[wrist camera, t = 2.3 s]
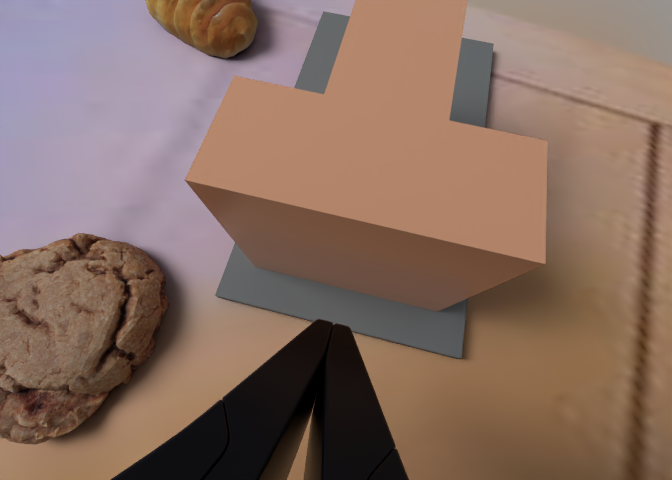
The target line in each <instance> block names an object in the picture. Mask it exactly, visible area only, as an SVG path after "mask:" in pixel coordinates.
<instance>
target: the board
mask: <svg viewBox="0 0 672 480" xmlns="http://www.w3.org/2000/svg"><path fill="white" fill-rule="evenodd" d="M349 19H350V16H345V15H339V14H334V13H329V12H323V14H322V17H321V19H320V22H319V25H318V27H317V30H316V32H315V35H314V38H313V40H312V43H311V46H310V48H309V51H308V53H307V56H306V59H305V61H304V64H303V66H302V69H301V72H300V74H299V77H298V80H297V82H296V85H295V87H294V88H296V89H301V90H305V91H310V92H315V93H320V94H324V93H325V90H326V87H327V84H328V81H329V78H330V75H331V72H332V69H333V66H334V63H335V60H336V57H337V54H338V51H339V48H340V45H341V42H342V39H343V37H344V34H345V31H346V28H347V25H348V22H349ZM492 54H493V44H492V43H486V42H481V41H476V40H471V39H465V38H462V40H461V46H460V53H459V60H458V66H457V73H456V79H455V86H454V92H453V99H452V106H451V112H450V119H449V120H450V121H454V122H459V123H464V124H469V125H474V126H478V127H483V128H485V123H486V113H487V103H488V93H489V83H490V74H491V64H492ZM215 296H217V297H219V298H223V299H227V300H230V301H234V302H238V303H242V304H246V305H250V306H254V307H258V308H262V309H265V310H269V311H273V312H277V313H281V314H285V315H289V316H293V317H297V318H300V319H304V320H308V321H312V322H314V321H316V320H317V319H322V320H326V321H330V322H332V323H333V325H334V324H335V323H338V324H342V325H346V326H349V327H350V328H351V331H352V332H355V333H359V334H363V335H367V336H371V337H374V338H378V339H382V340H386V341H390V342H394V343H398V344H402V345H406V346H409V347H413V348H417V349H421V350H425V351H429V352H433V353H437V354H441V355H444V356H448V357H452V358H456V359H461V358H462V348H463V338H464V328H465V318H466V309H467V299H468V298H467V299H465V300H463V301H460V302H458V303H456V304H454V305H451V306H449V307H447V308H444V309H442V310H440V311H438V312H436V311H432V310H427V309H423V308H419V307H415V306H411V305H407V304H403V303H399V302H395V301H391V300H387V299H383V298H379V297H375V296H371V295H367V294H363V293H359V292H355V291H351V290H347V289H343V288H339V287H335V286H331V285H327V284H323V283H319V282H315V281H311V280H307V279H303V278H299V277H295V276H291V275H287V274H283V273H279V272H274V271H270V270H266V269H262V268H258V267H255V266H254V265H253V264H252V263H251V261H250V260H249V259H248V258H247V256H246V255H245V254H244V253H243V251H242V250H241V249H240V248H239V246H238V245H237V244H236V243H235V245H234V247H233V250H232V253H231V255H230V258H229V261H228V263H227V266H226V268H225V271H224V274H223V276H222V279H221V281H220V284H219V287H218V289H217V292H216V295H215Z"/></svg>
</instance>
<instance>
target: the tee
mask: <svg viewBox="0 0 672 480" xmlns="http://www.w3.org/2000/svg"><path fill="white" fill-rule="evenodd" d="M466 7H467V0H356V1H355V4H354V7H353V10H352V13H351V16H350V19H349V22H348V25H347V28H346V31H345V34H344V37H343V39H342V42H341V45H340V48H339V51H338V54H337V57H336V60H335V63H334V66H333V69H332V72H331V75H330V78H329V81H328V84H327V87H326V90H325V93H324V94H320V93H315V92H310V91H305V90H301V89H296V88H291V87H286V86H281V85H277V84H272V83H267V82H262V81H257V80H252V79H248V78H243V77H238V76H234V78H233V80H232V82H231V84H230V86H229V88H228V90H227V92H226V94H225V97H224V99H223V101H222V103H221V105H220V107H219V109H218V111H217V113H216V115H215V118H214V120H213V122H212V124H211V126H210V128H209V130H208V132H207V134H206V136H205V139H204V141H203V143H202V145H201V147H200V149H199V151H198V153H197V155H196V157H195V160H194V162H193V164H192V166H191V168H190V170H189V172H188V174H187V176H186V179H185V181H186V182H187V183H188V185H189V186H190V187H191V188H192V190H193V191H194V192H195V193H196V195H197V196H198V197H199V198H200V199H201V201H202V202H203V203H204V204H205V206H206V207H207V208H208V209H209V211H210V212H211V213H212V214H213V216H214V217H215V218H216V219H217V221H218V222H219V223H220V224H221V225H222V227H223V228H224V229H225V230H226V232H227V233H228V234H229V235H230V237H231V238H232V239H233V240H234V242H235V243H236V244H237V245H238V246H239V248H240V249H241V250H242V251H243V253H244V254H245V255H246V256H247V258H248V259H249V260H250V261H251V263H252V264H253V265H254V266H255V267H258V268H262V269H266V270H270V271H274V272H279V273H283V274H287V275H291V276H295V277H299V278H303V279H307V280H311V281H315V282H319V283H323V284H327V285H331V286H335V287H339V288H343V289H347V290H351V291H355V292H359V293H363V294H367V295H371V296H375V297H379V298H383V299H387V300H391V301H395V302H399V303H403V304H407V305H411V306H415V307H419V308H423V309H427V310H432V311H436V312H438V311H440V310H442V309H444V308H447V307H449V306H451V305H454V304H456V303H458V302H460V301H463V300H465V299H467V298H469V297H472V296H474V295H476V294H479V293H481V292H483V291H485V290H488V289H490V288H492V287H495V286H497V285H499V284H501V283H504V282H506V281H508V280H510V279H513V278H515V277H517V276H520V275H522V274H524V273H526V272H529V271H531V270H533V269H536V268H538V267H540V266H542V265H545V264H546V206H547V147H548V141H546V140H541V139H536V138H531V137H527V136H522V135H517V134H512V133H507V132H503V131H498V130H493V129H488V128H483V127H478V126H474V125H469V124H464V123H459V122H454V121H450V120H449V119H450V112H451V106H452V99H453V92H454V86H455V79H456V73H457V66H458V60H459V53H460V46H461V40H462V33H463V27H464V20H465V14H466Z"/></svg>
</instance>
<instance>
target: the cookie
mask: <svg viewBox="0 0 672 480" xmlns="http://www.w3.org/2000/svg"><path fill="white" fill-rule="evenodd" d="M165 283H166V282H165V277H164V275H163V273H161V269H160V267H159V266H158V265H157V264H156V263H155V262H154V261H153V260H152V259H150V258H149V257H148V256H147V255H146V254H145V253H144V252H143V250H141V249H139V248H137V247H135V246H133V245H130V244H128V243H126V242H118V241H111V240H107V239H105V238H102V237H97V236H94V235H90V234H83V233H78V234H76V235H74V236H72V237H71V238H69V239H61V240H58V241H55V242H53V243H51V244H49V245H48V246H45V247H42V248H38V249H33V250H31V249H22V250H18V251H16V252H13V253H12V254H10V255H8V256H4V257H2V256H1V255H0V438H6V439H7V440H9V441H11V442H16V443H24V444H39V443H42V442H45V441H47V440H49V439H50V438H52V437H53V438H54V437H60V436H62V435H65V434H67V433H69V432H70V431H72V430H74V429H76V428H77V427H78V426H79V425H80V424H81V423H82V422H83V421H84V420H86V419H87V418H89V417H90V416H91V415H92V414H93V413H94V412H95V411H96V410H97V409H98V408H99V407H100V406H101V404H102V403H103V402H104V400H105V398H106V397H107V395H108V393H109V391H110V390H112V389H113V387H115V386H117V385H119V384H120V383H124V384H128V383H129V382H130V379H131V376H132V373H133V372H134V371H135V369H136V368H137V367H138V366H139V365H142V364H143V363H144V362H146V361H147V360H148V359H149V357H150V356H151V354H152V351H153V349H154V347H155V341H154V339H153V337H152V335H153V332H155V331H156V330H158V329H159V327H160V324H161V321H162V318H163V314H164V313H165V312H166V311H167V309H168V307H169V302H168V297H166V296H165V295H166V294H165V290H164V289H163V286H164V284H165Z"/></svg>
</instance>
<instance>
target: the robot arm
mask: <svg viewBox="0 0 672 480" xmlns="http://www.w3.org/2000/svg"><path fill="white" fill-rule="evenodd" d="M332 328H333V329H332ZM315 398H316V399H315ZM314 402H315V403H314ZM313 406H314V408H313ZM312 409H313V412H312ZM311 413H312V418H311V425H310V433H309V440H308V448H307V456H306V464H305V472H304V480H409V479H408V476H407V474H406V471H405V469H404V466H403V464H402V461H401V458H400V456H399V453H398V451H397V449H395V443H394V440H393V438H392V435H391V433H390V430H389V427H388V425H387V422H386V420H385V417H384V414H383V412H382V409H381V406H380V404H379V401H378V399H377V396H376V393H375V391H374V388H373V386H372V383H371V380H370V378H369V375H368V373H367V370H366V367H365V365H364V362H363V359H362V357H361V354H360V352H359V349H358V346H357V344H356V341H355V339H354V336H353V333H352V331H351V328H350V327H349V326H346V325H342V324H338V323H335V324H334V325H333V323H332V322H330V321H326V320H322V319H317V320H316V321H314V322H313V323H312V324H311V325H310V326H308V327H307V328H306V329H305V330H304V331H302V332H301V333H300V334H299V335H298V336H296V337H295V338H294V339H293V340H292V341H290V342H289V343H288V344H287V345H286V346H284V347H283V348H282V349H281V350H280V351H278V352H277V353H276V354H275V355H274V356H272V357H271V358H270V359H269V360H267V361H266V362H265V363H264V364H263V365H261V366H260V367H259V368H258V369H257V370H255V371H254V372H253V373H252V374H251V375H249V376H248V377H247V378H246V379H245V380H243V381H242V382H241V383H240V384H239V385H237V386H236V387H235V388H234V389H233V390H231V391H230V392H229V393H228V394H227V395H225V396H224V397H223V399H222V400H219V401H218V402H217V403H215V404H214V405H213V406H212V407H211V408H210V409H208V410H207V411H206V412H205V413H203V414H202V415H201V416H200V417H198V418H197V419H196V420H195V421H193V422H192V423H191V424H189V425H188V426H187V427H186V428H184V429H183V430H182V431H180V432H179V433H178V434H176V435H175V436H173V437H172V438H171V439H169V440H168V441H166V442H165V443H163V444H162V445H161V446H159V447H158V448H156V449H155V450H154V451H152V452H151V453H149V454H148V455H146V456H145V457H143V458H142V459H140V460H139V461H137V462H136V463H134V464H133V465H131V466H130V467H128V468H127V469H126V470H124V471H123V472H121V473H120V474H118V475H117V476H115V477H114V478H112V479H111V480H287V477H288V475H289V472H290V469H291V467H292V464H293V461H294V459H295V456H296V454H297V451H298V448H299V446H300V443H301V440H302V438H303V435H304V432H305V430H306V427H307V425H308V422H309V419H310V416H311Z"/></svg>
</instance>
